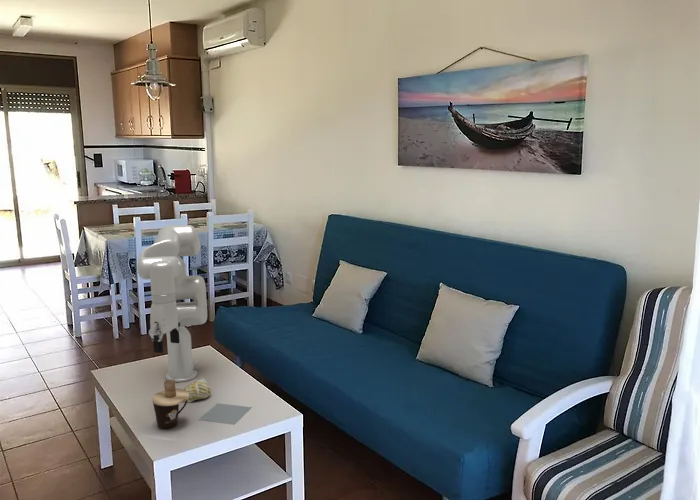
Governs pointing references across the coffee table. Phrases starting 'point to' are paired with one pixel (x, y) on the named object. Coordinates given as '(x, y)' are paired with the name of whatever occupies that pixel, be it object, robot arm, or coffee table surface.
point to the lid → (170, 395)
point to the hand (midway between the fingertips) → (167, 347)
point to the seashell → (198, 390)
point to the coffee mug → (167, 416)
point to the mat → (225, 413)
